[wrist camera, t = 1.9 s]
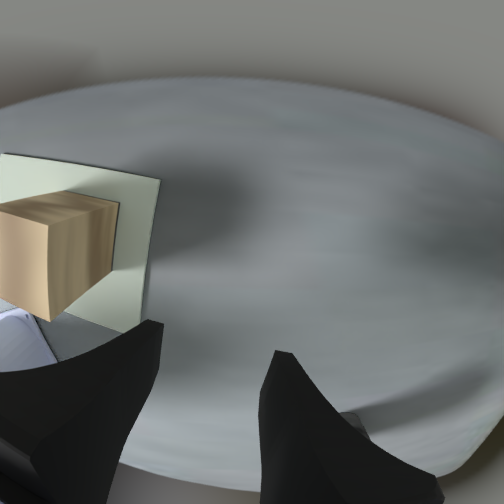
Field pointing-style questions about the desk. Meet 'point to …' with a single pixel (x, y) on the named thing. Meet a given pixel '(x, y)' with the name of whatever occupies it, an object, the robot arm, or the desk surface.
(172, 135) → the desk surface
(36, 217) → the tan block
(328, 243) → the desk surface
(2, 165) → the mat
